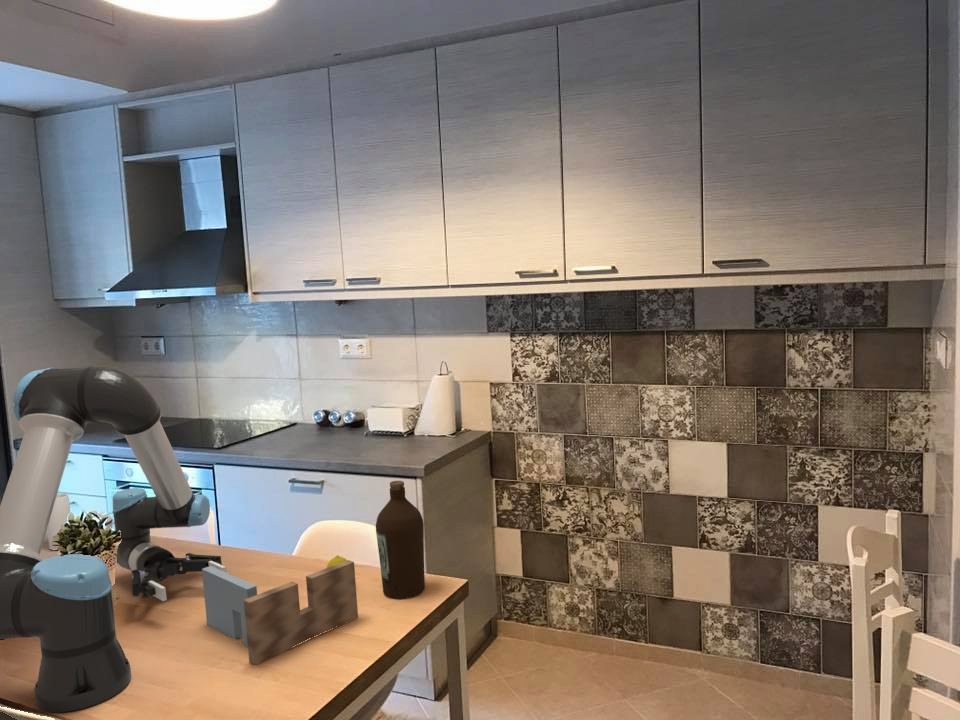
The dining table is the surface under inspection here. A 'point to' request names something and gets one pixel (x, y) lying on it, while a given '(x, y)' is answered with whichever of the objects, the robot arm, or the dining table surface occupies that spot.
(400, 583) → the dark brown bottle
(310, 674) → the dining table surface
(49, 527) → the drinking glass
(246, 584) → the slate slotted plate
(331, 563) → the lemon
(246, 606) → the walnut slotted board
